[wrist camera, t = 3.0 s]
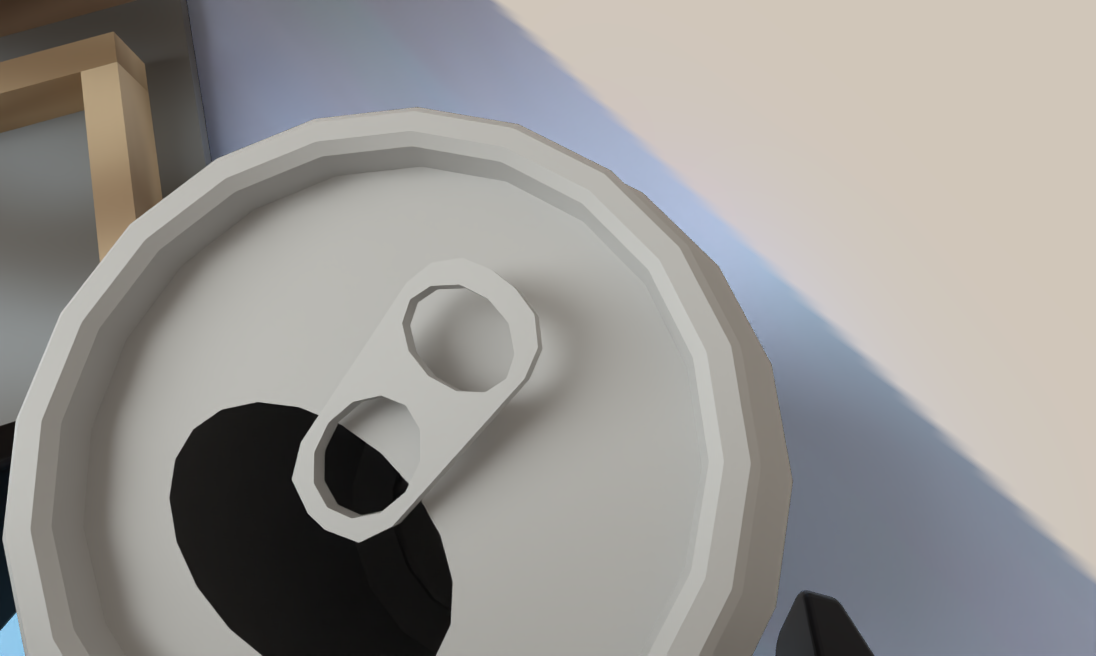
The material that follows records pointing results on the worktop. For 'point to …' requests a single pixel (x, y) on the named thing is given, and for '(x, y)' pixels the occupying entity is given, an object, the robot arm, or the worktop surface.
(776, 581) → the can
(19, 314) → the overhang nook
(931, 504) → the worktop surface
